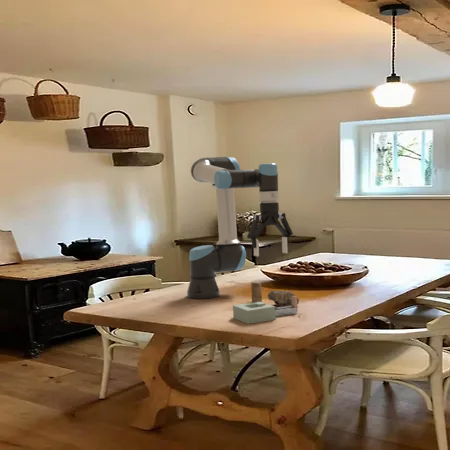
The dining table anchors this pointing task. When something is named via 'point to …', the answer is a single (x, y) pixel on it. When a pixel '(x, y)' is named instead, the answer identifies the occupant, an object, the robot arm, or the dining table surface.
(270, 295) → the rock
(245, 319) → the block
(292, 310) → the block
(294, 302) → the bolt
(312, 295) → the dining table surface
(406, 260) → the dining table surface
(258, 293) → the peg
